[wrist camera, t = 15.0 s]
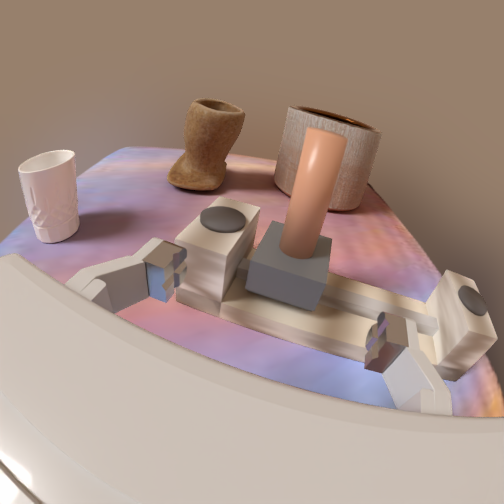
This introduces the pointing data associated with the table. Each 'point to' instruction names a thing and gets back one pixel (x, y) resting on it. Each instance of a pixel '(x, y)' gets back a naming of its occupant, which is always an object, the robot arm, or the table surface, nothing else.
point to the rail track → (325, 299)
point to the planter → (354, 160)
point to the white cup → (51, 194)
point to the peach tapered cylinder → (301, 229)
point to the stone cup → (206, 144)
